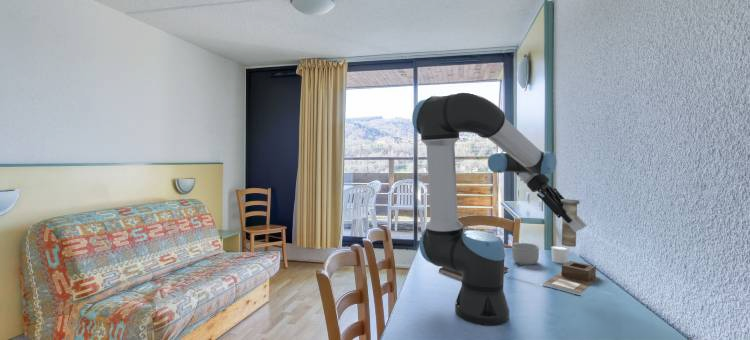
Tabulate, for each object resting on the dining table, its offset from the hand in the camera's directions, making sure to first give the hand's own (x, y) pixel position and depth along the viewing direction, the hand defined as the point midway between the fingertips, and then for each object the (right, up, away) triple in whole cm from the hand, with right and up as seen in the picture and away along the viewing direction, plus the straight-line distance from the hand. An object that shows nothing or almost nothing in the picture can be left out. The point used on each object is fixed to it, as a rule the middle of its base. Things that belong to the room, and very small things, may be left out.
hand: (580, 228), depth 123 cm
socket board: (+1, -21, +7) cm, 22 cm away
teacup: (-7, -20, +31) cm, 38 cm away
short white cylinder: (+9, -21, +31) cm, 38 cm away
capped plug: (-3, -6, +3) cm, 7 cm away
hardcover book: (-32, -21, +19) cm, 43 cm away
